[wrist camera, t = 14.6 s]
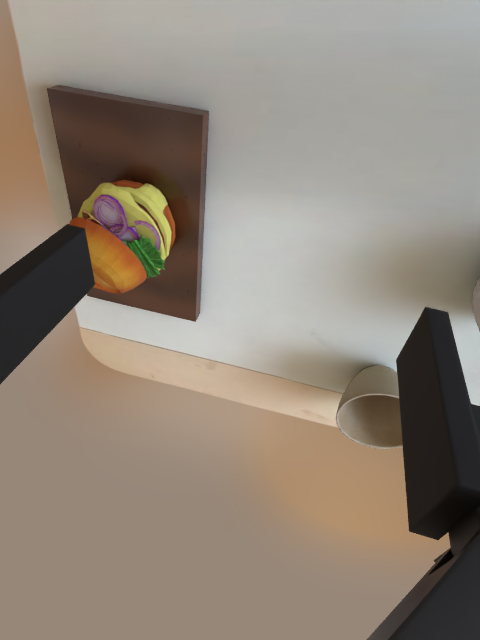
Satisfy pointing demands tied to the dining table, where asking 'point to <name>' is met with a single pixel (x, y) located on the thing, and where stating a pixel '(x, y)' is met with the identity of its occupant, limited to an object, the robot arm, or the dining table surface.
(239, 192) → the dining table surface
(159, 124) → the serving board
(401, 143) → the dining table surface
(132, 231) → the cheeseburger
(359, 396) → the bowl
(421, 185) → the dining table surface
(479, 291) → the teacup
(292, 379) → the dining table surface
